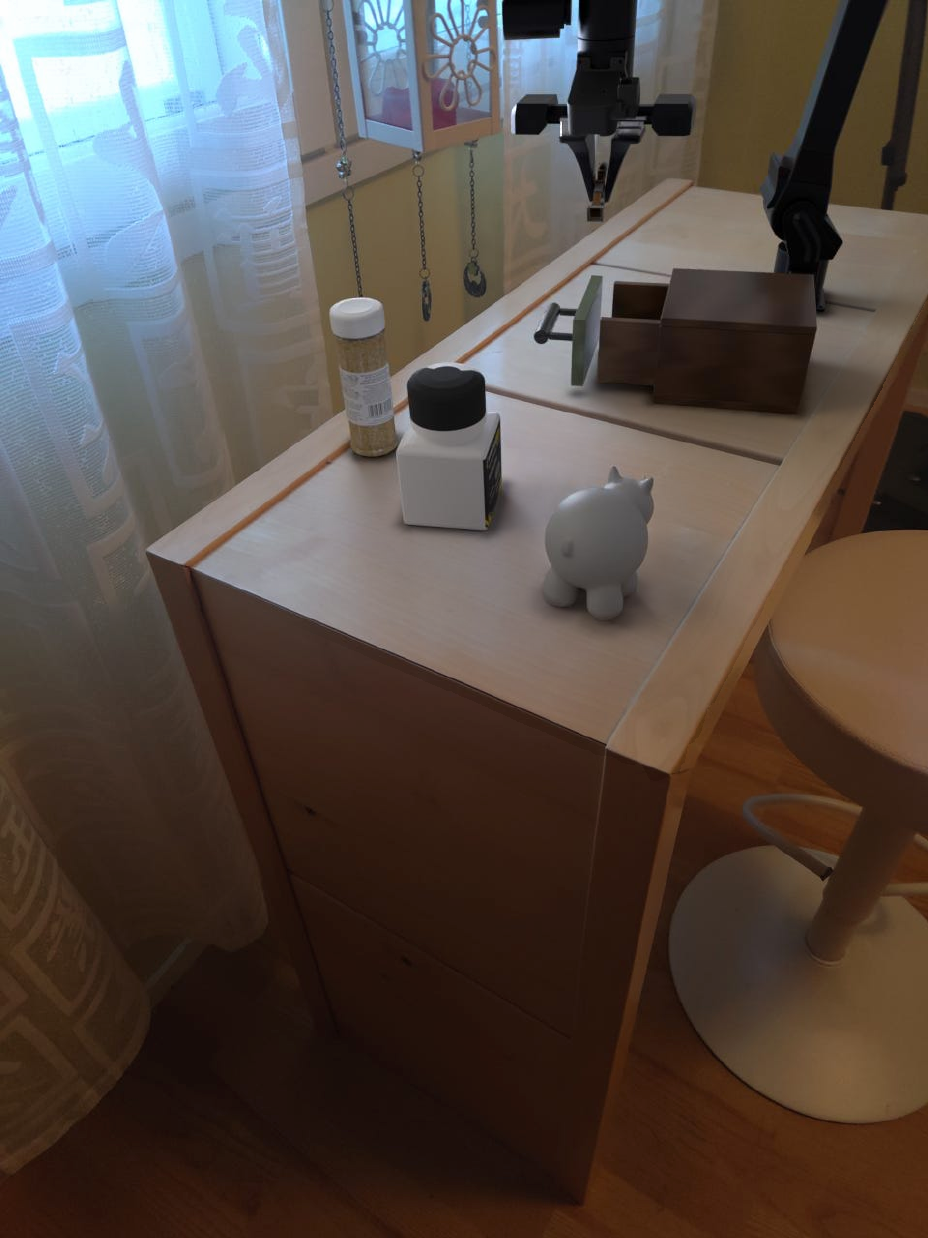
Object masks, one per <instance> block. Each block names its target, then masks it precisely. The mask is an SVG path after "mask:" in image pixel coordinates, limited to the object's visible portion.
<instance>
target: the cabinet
mask: <svg viewBox="0 0 928 1238" xmlns="http://www.w3.org/2000/svg"><path fill="white" fill-rule="evenodd" d="M668 284H669V287H668V291H667V295H666V300H665V304H664V308H663V312H662V316H661V323H660V333H659V343H658V353H657V363H656V373H655V382H654V385H653V394H652V403H653V404H661V405H662V404H663V405H676V406H687V407H700V408H713V409H714V408H715V409H725V410H737V411H751V412H763V413H775V414H777V413H778V414H787V415H798V414H799V410H800V407H801V401H802V397H803V392H804V388H805V383H806V381H807V380H806V379H807V375H808V370H809V366H810V361H811V356H812V352H813V348H814V343H815V338H816V334H817V329H818V323H817V322H818V321H817V312H816V305H815V290H814V276H813V274H793V273H773V272H771V271H770V272H768V271H767V272H766V271H745V270H727V269H726V270H723V269H704V268H703V269H702V268H701V269H700V268H683V267H682V268H680V267H679V268H678V267H673V268H672V271H671V276H670V280H669V283H668Z"/></svg>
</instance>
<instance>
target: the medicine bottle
mask: <svg viewBox="0 0 928 1238" xmlns="http://www.w3.org/2000/svg"><path fill="white" fill-rule="evenodd" d="M486 391H487V389H486V378H485V376H484V374H482V372H481V371H480V370H479V369H478V368H476V367H474V366H471V365H469V364H467V363H466V364H465V363H460V362H451V361H445V362H439V363H438V362H437V363H433V364H429V365H426V366H423V367H421V368H419V369H418V370H416V371H414V372H413V373H412V374H411V376H410V377H409V378H408V380H407V382H406V395H407V403H408V413H409V424H408V426H407V428H406V430H405V432H404V435H403V436H402V438H401V440H400V442H399V443H398V446H397V449H396V451H395V455H396V464H397V473H398V474H397V475H398V481H399V491H400V498H401V508H402V515H403V516H402V517H403V522H404V524H405V525H408V526H421V527H432V528H433V527H434V528H447V529H459V530H471V531H484V532H485V531H487V530H489V526H490V523H491V520H492V517H493V515H494V510H495V507H496V504H497V501H498V497H499V495H500V492H501V488H502V484H503V473H502V471H503V470H502V436H501V435H502V434H501V433H502V430H501V415H500V413H498V412H495V411H487V392H486Z"/></svg>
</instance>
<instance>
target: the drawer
mask: <svg viewBox="0 0 928 1238" xmlns="http://www.w3.org/2000/svg"><path fill="white" fill-rule="evenodd" d="M603 276H604V275H597V274H596V275H595V274H594V275H593V274H592V275H591V276H590V277H589V280H588V282H587V285H586V287H585V289H584V292H583V294H582V297H581V300H580V302H579V304H578V307H577V308H568V307H561V306H560V305H559V303H557V302H550V303H548V305H547V306H546V308H545V311H544V313H543V315H542V317H541V319H540V321H539V323H538V325H537V327H536V329H535V331H534V333H533V339H534V341H535V343H536V344H538V345H544V344H546V343H547V342H548V341H565V342H571V368H570V369H571V371H570V372H571V373H570V386H574V387H583V386H584V384H585V380H586V378H587V375H588V372H589V370H590V367H591V364H592V361H593V358H594V355H595V352H596V349H597V346H598V357H597V358H598V359H597V375H596V381H597V382H603V383H615V384H630V385H643V386H654V382H655V373H656V363H657V353H658V343H659V333H660V323H661V316H662V312H663V308H664V304H665V300H666V295H667V291H668V287H669V283H668V282H667V283H666V282H665V283H664V282H644V281H643V282H642V281H626V280H625V281H623V280H614V281H613V287H612V300H611V301H612V302H611V317H609V316H608V317H606V316H602V300H603V282H604V281H603V280H604V277H603ZM559 316H561V317H573V318H572V332H559V331H558V332H556V331H553V330H554V328H555V325H556V323H557V321H558V318H559Z"/></svg>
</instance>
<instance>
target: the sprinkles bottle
mask: <svg viewBox="0 0 928 1238" xmlns="http://www.w3.org/2000/svg"><path fill="white" fill-rule="evenodd" d="M329 322H330V328H331V332H332V333H333V337H334V338H335V339H334V340H335V346H336V353H337V358H338V370H339V376H340V381H341V389H342V395H343V401H344V409H345V415H346V419H347V423H348V429H349V436H350V448H351V449H352V451H353V452H354V453H356V454H357V455H359V456H362V457H368V458H369V457H370V458H371V457H380V456H384V455H387V454H389V453H391V452H393V451H394V450H395V449H396V448H397V447H398V445H399V438H398V435H397V431H396V422H395V409H394V401H393V392H392V381H391V374H390V366H389V360H388V354H387V346H386V338H385V329H386V328H385V327H386V320H385V312H384V307H383V304H382V303H381V302H380V301H379V300H377V299H374V298H370V297H352V298H350V297H349V298H346V299H343V300H339V301H337V302H336V303H335V304H333V305H332V306H331V307H330V309H329Z"/></svg>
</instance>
